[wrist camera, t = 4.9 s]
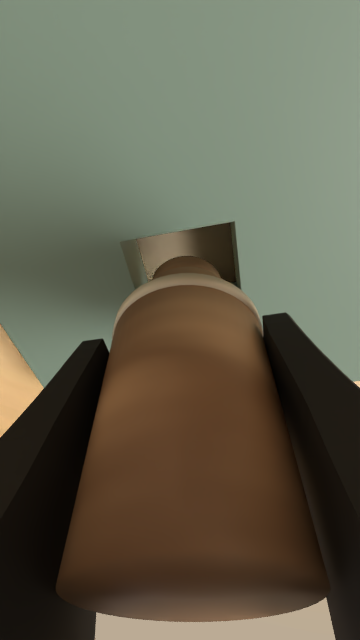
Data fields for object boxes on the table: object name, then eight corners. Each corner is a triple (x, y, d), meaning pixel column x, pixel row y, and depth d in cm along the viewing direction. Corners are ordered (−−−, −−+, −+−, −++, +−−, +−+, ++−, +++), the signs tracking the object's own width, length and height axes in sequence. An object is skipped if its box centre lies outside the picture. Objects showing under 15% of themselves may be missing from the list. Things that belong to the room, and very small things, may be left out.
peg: (145, 339, 14) (110, 625, 7) (107, 245, 11) (-8, 566, 4) (252, 322, 14) (325, 617, 7) (240, 217, 11) (346, 541, 4)
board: (74, 379, 20) (62, 414, 18) (-188, -72, 9) (-292, -106, 7) (357, 342, 18) (378, 378, 16) (476, -300, 7) (591, -437, 5)
